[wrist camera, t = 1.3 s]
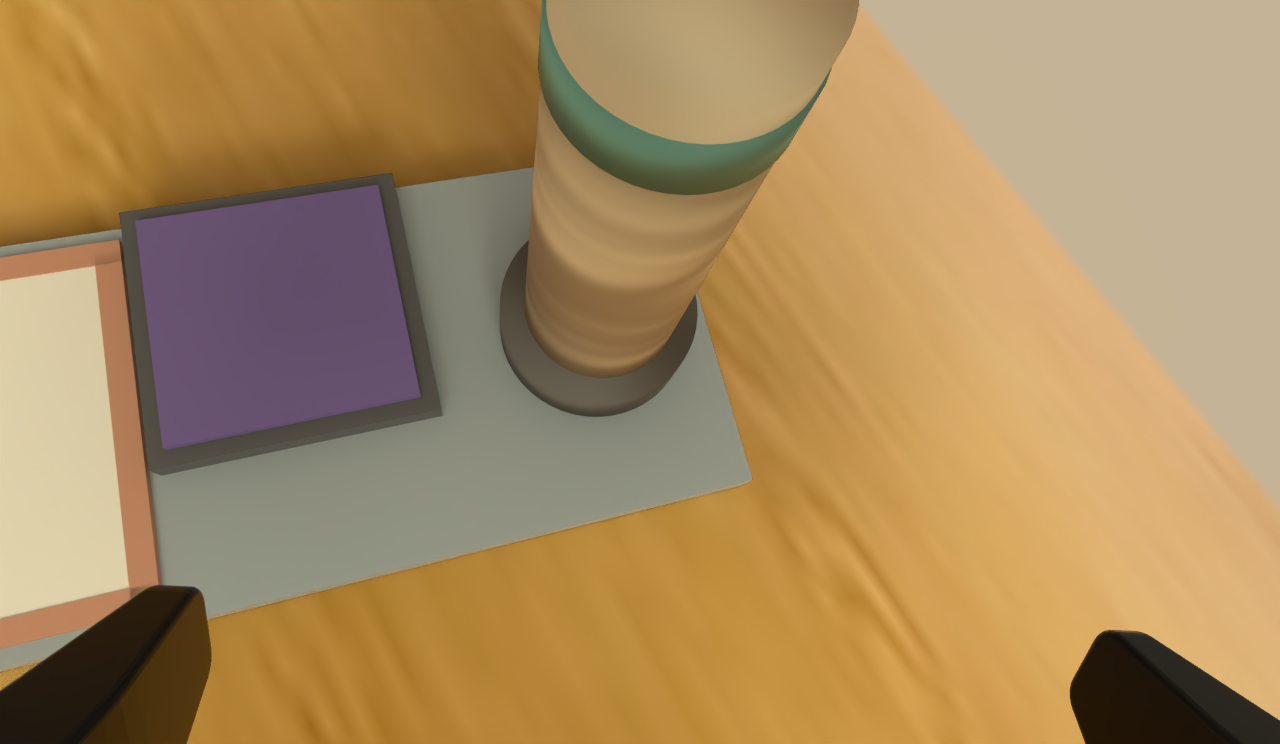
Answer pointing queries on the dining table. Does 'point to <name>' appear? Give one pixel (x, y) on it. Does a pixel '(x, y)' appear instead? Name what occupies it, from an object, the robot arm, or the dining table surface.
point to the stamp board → (299, 405)
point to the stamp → (648, 178)
